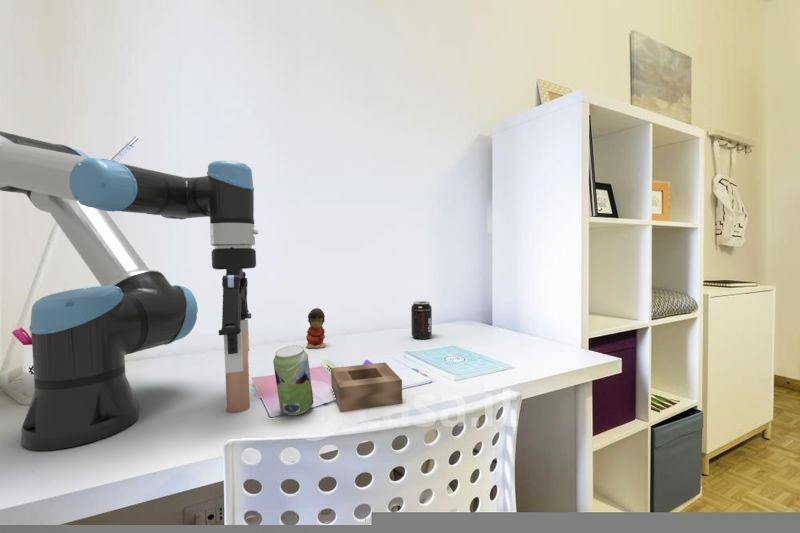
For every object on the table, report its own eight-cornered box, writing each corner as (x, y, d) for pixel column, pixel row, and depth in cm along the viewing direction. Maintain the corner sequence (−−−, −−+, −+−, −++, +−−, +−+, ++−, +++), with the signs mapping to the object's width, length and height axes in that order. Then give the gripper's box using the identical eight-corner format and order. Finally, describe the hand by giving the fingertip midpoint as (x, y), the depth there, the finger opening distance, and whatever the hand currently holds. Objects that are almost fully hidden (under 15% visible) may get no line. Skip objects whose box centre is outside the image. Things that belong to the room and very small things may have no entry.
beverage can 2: (435, 338, 125) (435, 302, 124) (418, 341, 121) (418, 304, 121) (424, 334, 131) (424, 300, 130) (407, 337, 127) (407, 301, 127)
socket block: (340, 411, 69) (339, 387, 69) (331, 388, 80) (331, 368, 80) (402, 402, 72) (401, 380, 72) (385, 382, 84) (385, 362, 84)
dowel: (225, 413, 68) (222, 337, 68) (228, 405, 72) (225, 333, 72) (248, 410, 70) (246, 336, 69) (250, 402, 73) (248, 331, 73)
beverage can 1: (319, 405, 72) (317, 343, 71) (300, 422, 65) (299, 353, 64) (289, 402, 73) (287, 341, 73) (267, 419, 66) (266, 351, 65)
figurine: (302, 346, 116) (301, 308, 115) (318, 343, 120) (317, 306, 119) (312, 350, 111) (311, 310, 111) (328, 347, 115) (328, 308, 114)
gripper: (250, 245, 59) (255, 379, 60) (258, 248, 83) (262, 343, 83) (197, 246, 57) (203, 385, 57) (221, 248, 80) (225, 347, 81)
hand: (238, 360), depth 70 cm, fingers open, 13 cm apart
